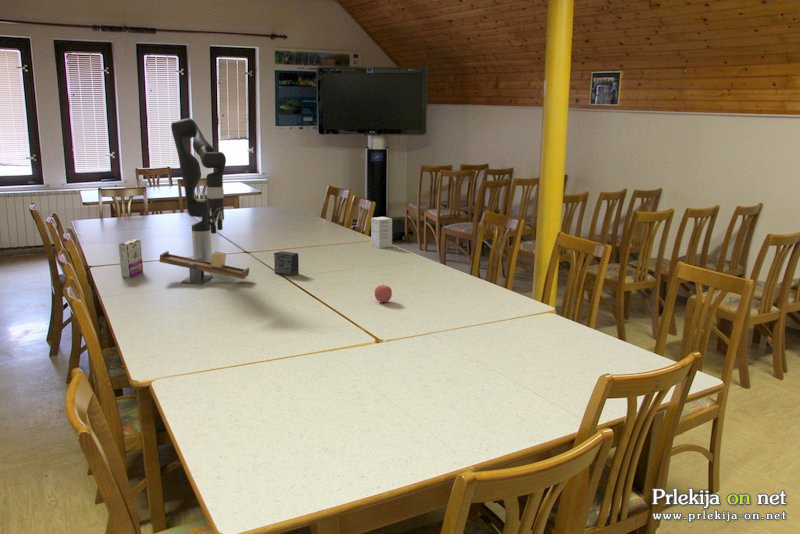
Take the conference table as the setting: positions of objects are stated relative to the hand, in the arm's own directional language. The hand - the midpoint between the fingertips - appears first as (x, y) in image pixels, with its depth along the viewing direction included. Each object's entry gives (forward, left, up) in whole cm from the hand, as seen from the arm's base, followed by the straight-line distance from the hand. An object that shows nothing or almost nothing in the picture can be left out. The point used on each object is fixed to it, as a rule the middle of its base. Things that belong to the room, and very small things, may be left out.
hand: (216, 231), depth 313 cm
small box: (-19, +28, -24) cm, 41 cm away
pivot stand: (0, -10, -24) cm, 26 cm away
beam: (0, -7, -18) cm, 19 cm away
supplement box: (-91, +67, -24) cm, 115 cm away
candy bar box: (-5, -44, -24) cm, 51 cm away
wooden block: (0, 0, -17) cm, 17 cm away
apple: (+22, +80, -24) cm, 86 cm away
